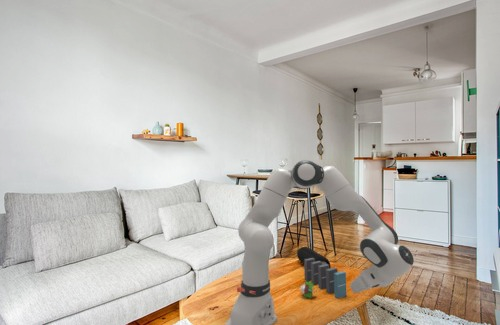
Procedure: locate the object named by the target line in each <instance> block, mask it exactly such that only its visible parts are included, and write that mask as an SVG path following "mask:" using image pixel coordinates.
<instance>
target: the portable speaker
mask: <svg viewBox="0 0 500 325" xmlns="http://www.w3.org/2000/svg"><path fill="white" fill-rule="evenodd" d="M296 254H297V255H296V256H297V259H298V261H300V262H301V263H302V264H304V260H305V259H309V258H314V259H315V262H316V261H321V262H322V265H324V264H328V265H329V269H330V268H332V267H331V266H332V265H331V263H330V260H329V259H328V258H327V257H325V256H323V255H322V254H320V253H318V252H317V251H315V250H313V249H312V248H309V247H308V246H302V247H300V248H299V249H298V250H297V253H296Z"/></svg>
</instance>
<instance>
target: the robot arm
mask: <svg viewBox="0 0 500 325" xmlns="http://www.w3.org/2000/svg"><path fill="white" fill-rule="evenodd" d="M313 186H315V187H317V188H318V189H320V191H322V193H323V195H324V196H325V198H326V200H327V201H328V203H329V204H330V205H331V206H332V207H333V208H334V209H335V210H337V211H340V212H354V213H356V214H358V215H359V217H360V218H361V219H362V220H363V221H364V222H365V224H366V225H367V226H368V228H370V229H369V230H370V233H368V234H367V235H366V236H365V237H364V238H363V239H362V240H361V241H360V244H359V250H360V253H361V254H362V256H363V257H365V259H367V261H369V262H370V263H371V266H370V267H367V268H366V269H364V270H361V271H360V272H359V275H358V276H356V277H355V278H354V280H352V282H351V283H350V285H349V287H350V289H351V291H352V292H353V294H360V293H361V292H363V291H368V290H370V289H374V288H386V287H388V286H389V285H391V284H392V283H394V282H395V281H396V280H397V278H400V277H402V276H404V275H405V274H406V273H407V272H408V271H410V269H412V267H413V265H414V260H415V259H414V255H413V254H412V251H410V249H409V248H408V247H406V246H405V245H399V244H398V243H399V236H398V233H397V232H396V230H395V229H394V228H393V227H391V225H389V224H388V223H387V222H385V221H384V220H383V219H382V217H381V216H380V215H379V214H378V213H377V212H376V210H375V209H374V208H373V207H372V206H371V204H370V203H369V202H368V201H367V200H366V199H365V198H364V197H363V196H362V195H360V194H359V193H357V191H356V190H355V189H354V188H353V187H352V186H351V184H350V183H349V181H348V180H347V178H346V177H345V176H344V174H342V172H341V171H339V169H338V168H336V167H335V166H334V165H326V166H324V167H323V166H321V165H319V164H317V163H315V162H313V161H311V160H307V159H305V160H304V159H303V160H300V161H298V162H296V164H295V165H294V166H293V168H292V169H290V170H288V169H285V168H282V167H278V168H275V169H274V170H273V171H272V172H271V173H270V174H269V175H268V178H267V179H266V181H265V182H264V184H263V187H262V189H261V191H260V192H259V194H258V196H257V199H256V201H255V202H254V204H253V206H252V208H251V209H250V210H249V212H248V213H247V214H246V216H245V218H244V219H243V220H242V221H241V222H240V223H239V225H238V227H237V228H238V229H237V231H238V236H239V239H240V240H241V241H242V242H243V245H244V254H243V260H242V263H241V267H242V268H241V270H242V272H241V273H242V275H241V276H242V280H241V284H240V286H239V285H238V286H237V287H236V292H238V293H239V294H238V296H237V299H236V300H235V302H234V304H233V306H232V309H231V311H230V316H229V318H228V319H227V321H226V322H225V323H224V325H273V324H275V323H276V322H277V321H278V317H277V315H276V314H275V304H274V298H273V296H272V294H271V292H270V291H271V280H270V276H269V274H270V268H269V265H270V255H271V249H272V248H273V246H274V243H275V241H274V240H275V239H274V238H275V237H274V235H273V233H272V231H271V230H270V228H269V226H270V225H271V223H272V222H273V221H274V220H275V219H276V218H277V217H279V215H280V213H281V212H282V211H281V210H282V209H283V207H284V205H285V203H286V200H287V198H288V195H289V194H290V192H291V190H292V189H299V190H307V189H310V188H311V187H313Z"/></svg>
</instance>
